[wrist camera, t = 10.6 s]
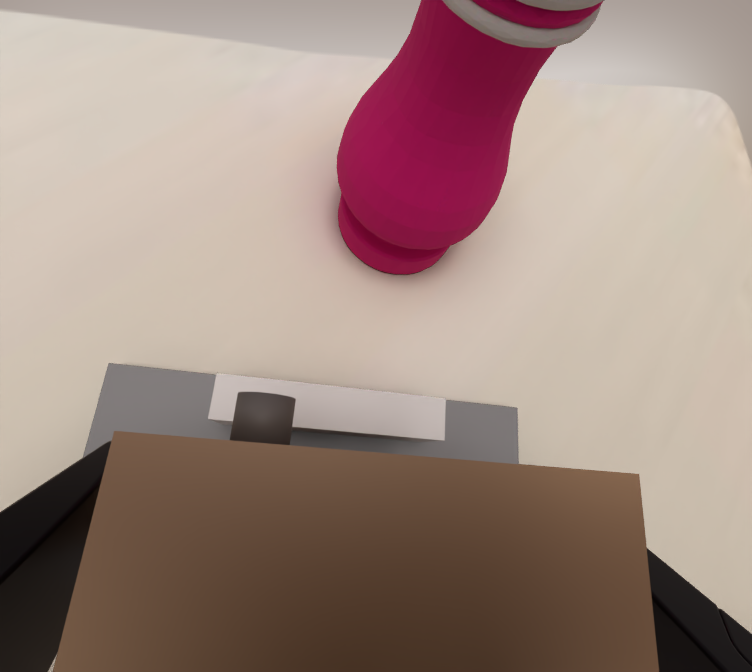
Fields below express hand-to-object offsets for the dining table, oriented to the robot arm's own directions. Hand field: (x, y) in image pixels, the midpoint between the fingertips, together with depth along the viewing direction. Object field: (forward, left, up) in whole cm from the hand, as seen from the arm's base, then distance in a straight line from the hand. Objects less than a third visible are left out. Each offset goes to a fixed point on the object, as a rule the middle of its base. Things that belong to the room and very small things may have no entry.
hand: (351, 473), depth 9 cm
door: (-1, +1, -9) cm, 9 cm away
